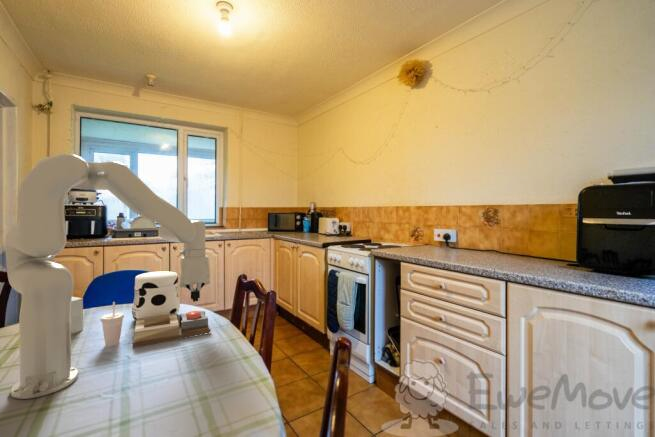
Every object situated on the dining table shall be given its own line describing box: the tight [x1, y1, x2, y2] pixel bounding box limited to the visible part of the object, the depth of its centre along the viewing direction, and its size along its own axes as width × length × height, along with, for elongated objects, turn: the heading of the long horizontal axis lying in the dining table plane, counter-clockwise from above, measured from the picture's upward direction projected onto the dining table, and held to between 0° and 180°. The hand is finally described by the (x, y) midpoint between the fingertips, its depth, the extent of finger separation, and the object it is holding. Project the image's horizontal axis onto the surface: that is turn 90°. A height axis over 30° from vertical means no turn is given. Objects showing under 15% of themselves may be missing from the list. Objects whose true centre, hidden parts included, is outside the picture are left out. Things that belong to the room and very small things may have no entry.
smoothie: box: [100, 301, 125, 348], centre depth 98 cm, size 6×6×14 cm
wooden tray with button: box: [132, 310, 211, 349], centre depth 108 cm, size 14×24×5 cm, turn 121°
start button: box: [186, 310, 201, 320], centre depth 112 cm, size 5×5×3 cm
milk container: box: [131, 270, 181, 321], centre depth 122 cm, size 17×17×18 cm
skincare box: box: [71, 296, 84, 335], centre depth 107 cm, size 6×4×12 cm
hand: (195, 300), depth 112 cm, fingers closed
